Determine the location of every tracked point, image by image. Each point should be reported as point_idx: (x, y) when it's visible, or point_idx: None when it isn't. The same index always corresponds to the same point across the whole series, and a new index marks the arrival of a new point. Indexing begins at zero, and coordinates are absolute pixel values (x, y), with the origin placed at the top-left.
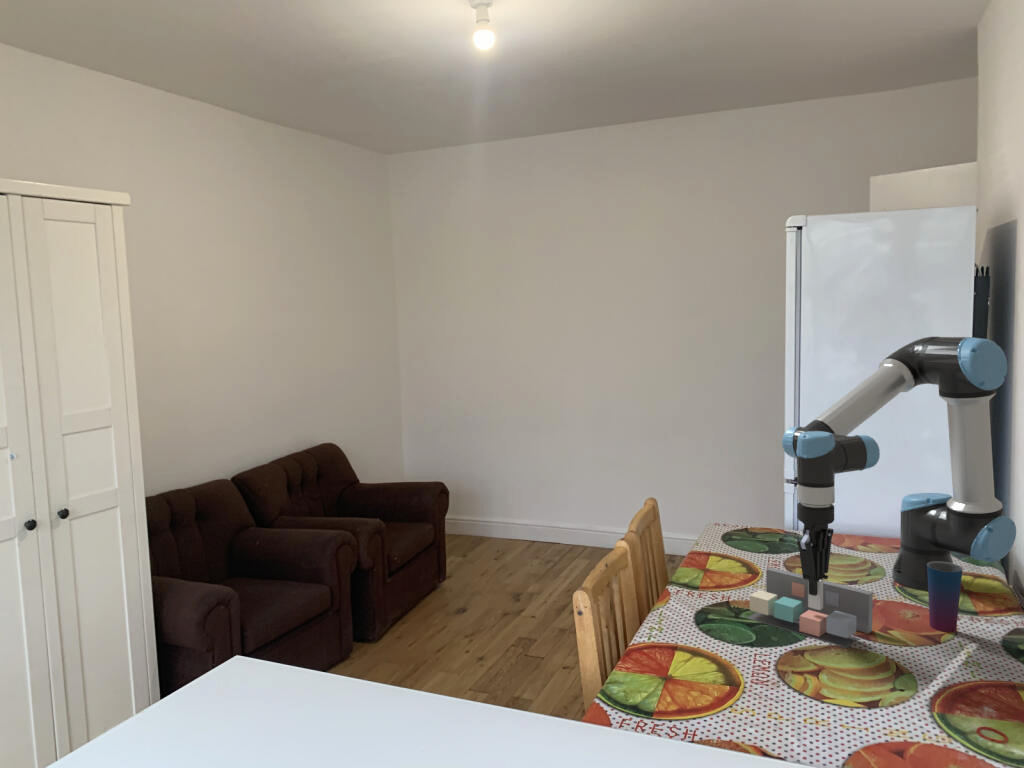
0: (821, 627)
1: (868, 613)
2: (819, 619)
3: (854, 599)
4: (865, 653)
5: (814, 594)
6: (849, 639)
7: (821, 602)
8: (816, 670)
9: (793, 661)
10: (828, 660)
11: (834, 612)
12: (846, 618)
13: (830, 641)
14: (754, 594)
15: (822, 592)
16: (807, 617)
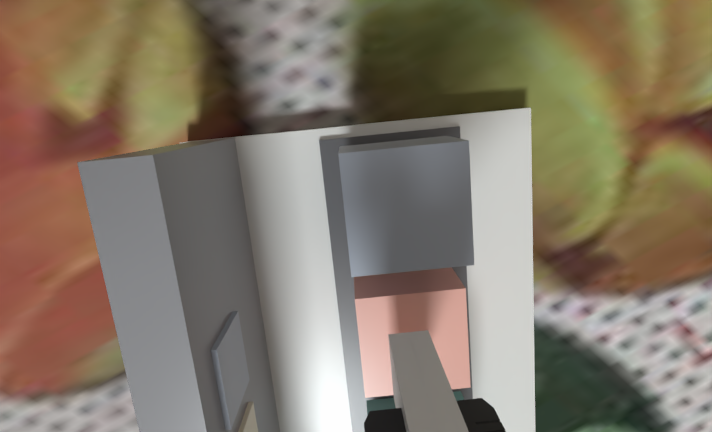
0: (433, 276)
1: (203, 146)
2: (441, 302)
3: (196, 247)
4: (391, 70)
5: (490, 408)
6: None
7: (416, 353)
8: (687, 129)
9: (670, 232)
10: (567, 143)
11: (382, 267)
12: (416, 175)
13: None
14: None
15: (412, 392)
16: (461, 352)
